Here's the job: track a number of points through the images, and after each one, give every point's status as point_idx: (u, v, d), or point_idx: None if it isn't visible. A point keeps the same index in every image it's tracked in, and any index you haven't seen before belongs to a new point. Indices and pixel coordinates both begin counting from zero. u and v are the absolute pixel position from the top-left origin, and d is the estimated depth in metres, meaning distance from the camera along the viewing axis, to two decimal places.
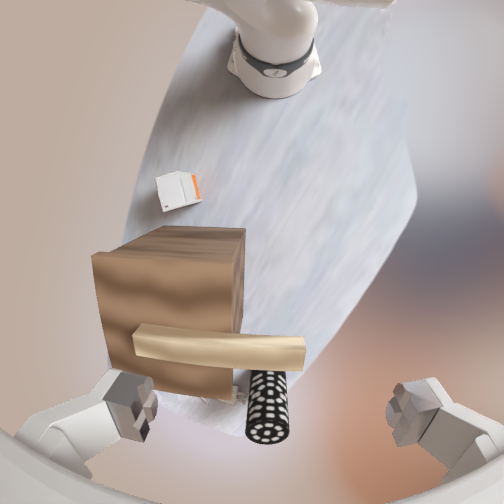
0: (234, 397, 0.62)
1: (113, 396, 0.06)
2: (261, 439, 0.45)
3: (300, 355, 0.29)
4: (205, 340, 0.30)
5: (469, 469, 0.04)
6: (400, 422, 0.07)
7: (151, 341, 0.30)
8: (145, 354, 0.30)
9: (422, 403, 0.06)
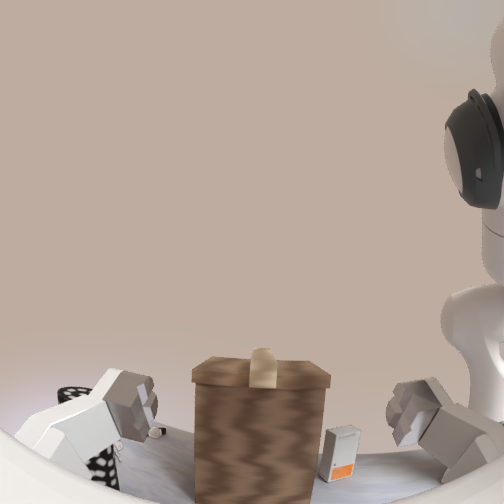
0: None
1: (113, 396, 0.06)
2: (75, 389, 0.31)
3: (271, 362, 0.30)
4: None
5: (469, 469, 0.04)
6: (400, 422, 0.07)
7: (268, 349, 0.46)
8: (255, 348, 0.47)
9: (422, 403, 0.06)
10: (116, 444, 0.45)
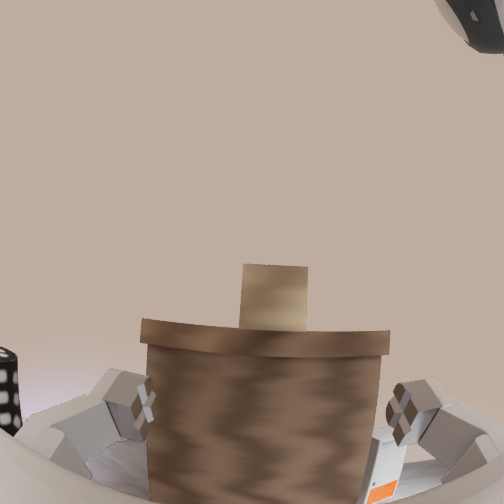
0: None
1: (113, 396, 0.06)
2: None
3: None
4: None
5: (469, 469, 0.04)
6: (400, 422, 0.07)
7: None
8: None
9: (422, 403, 0.06)
10: None
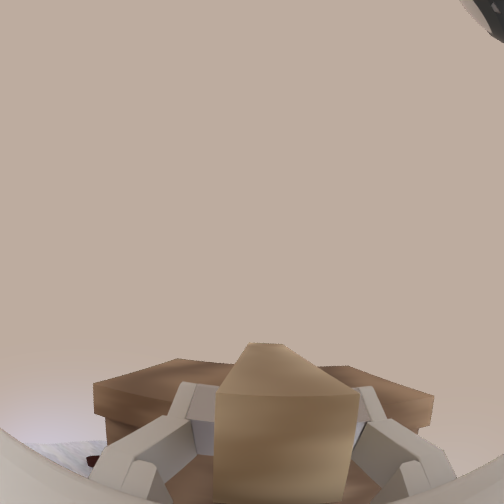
0: None
1: (197, 413, 0.06)
2: None
3: (323, 390, 0.06)
4: None
5: (393, 497, 0.04)
6: None
7: (279, 345, 0.22)
8: (253, 343, 0.23)
9: None
10: None
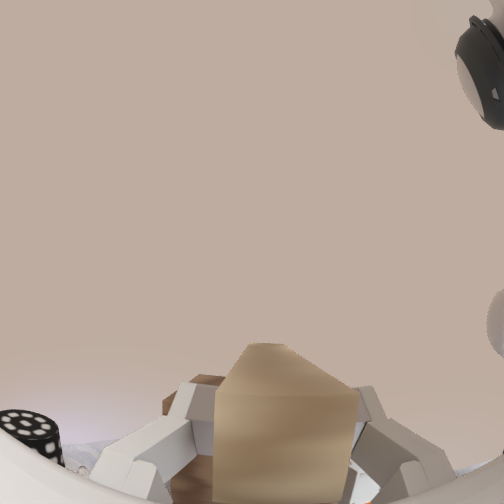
0: None
1: (197, 413, 0.06)
2: (18, 414, 0.18)
3: (322, 390, 0.06)
4: None
5: (393, 497, 0.04)
6: None
7: (279, 345, 0.22)
8: (253, 343, 0.23)
9: None
10: (81, 472, 0.30)
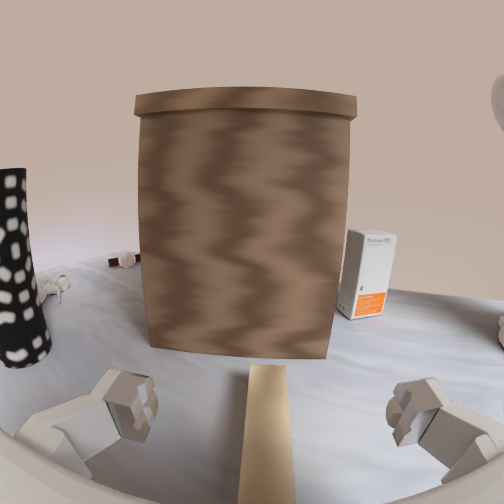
0: None
1: (113, 396, 0.06)
2: None
3: None
4: None
5: (469, 469, 0.04)
6: (400, 422, 0.07)
7: (280, 384, 0.20)
8: (254, 374, 0.21)
9: (422, 403, 0.06)
10: (60, 281, 0.39)
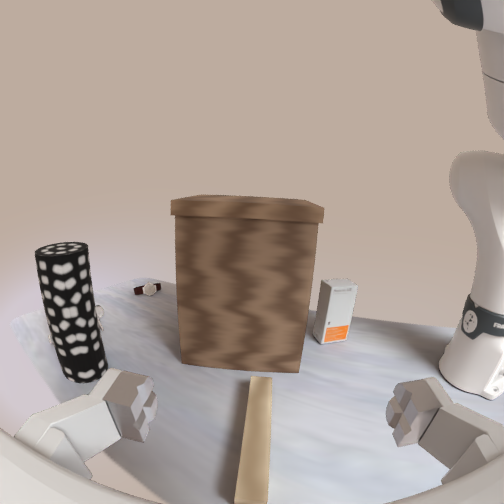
0: None
1: (113, 396, 0.06)
2: (54, 246, 0.33)
3: (260, 496, 0.18)
4: None
5: (469, 469, 0.04)
6: (400, 422, 0.07)
7: (268, 388, 0.34)
8: (253, 382, 0.35)
9: (422, 403, 0.06)
10: (97, 311, 0.53)
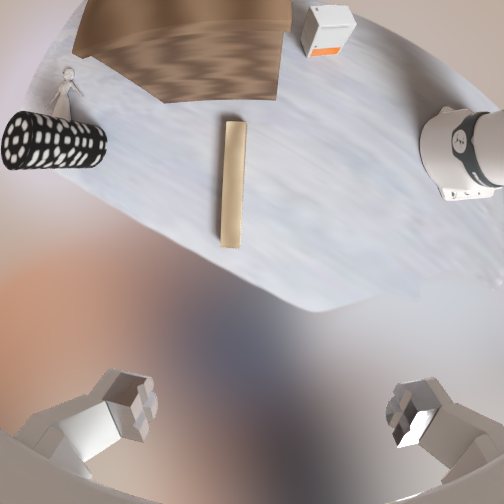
0: None
1: (113, 396, 0.06)
2: (7, 137, 0.24)
3: (234, 244, 0.44)
4: (243, 177, 0.42)
5: (469, 469, 0.04)
6: (400, 422, 0.07)
7: (242, 137, 0.40)
8: (228, 129, 0.40)
9: (422, 403, 0.06)
10: (67, 77, 0.38)
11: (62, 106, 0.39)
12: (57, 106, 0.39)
